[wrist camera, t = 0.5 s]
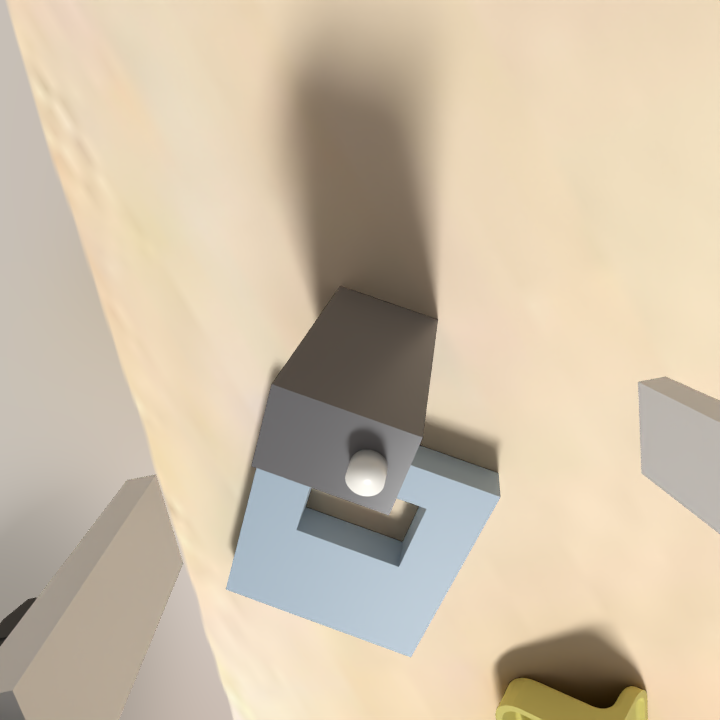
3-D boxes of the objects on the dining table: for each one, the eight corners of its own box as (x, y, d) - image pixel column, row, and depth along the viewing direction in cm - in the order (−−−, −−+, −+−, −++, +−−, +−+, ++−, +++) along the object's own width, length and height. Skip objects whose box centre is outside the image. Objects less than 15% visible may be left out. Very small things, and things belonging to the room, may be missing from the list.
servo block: (340, 286, 33) (263, 396, 20) (437, 319, 32) (420, 452, 20) (322, 346, 35) (242, 480, 22) (414, 378, 34) (385, 532, 22)
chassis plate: (281, 396, 37) (269, 415, 35) (498, 473, 36) (500, 497, 34) (237, 565, 45) (225, 589, 43) (413, 629, 45) (410, 657, 42)
